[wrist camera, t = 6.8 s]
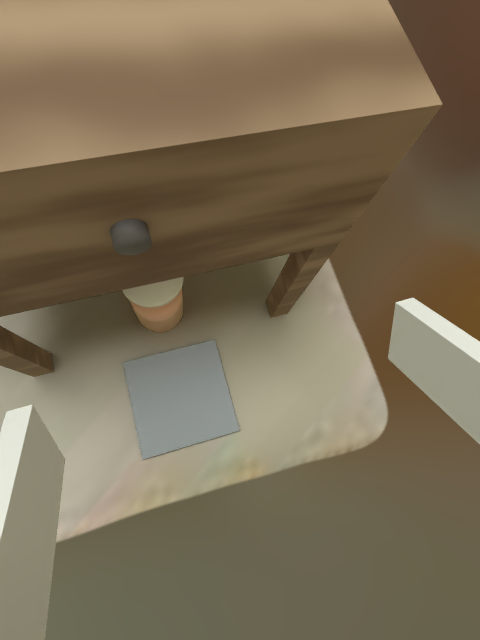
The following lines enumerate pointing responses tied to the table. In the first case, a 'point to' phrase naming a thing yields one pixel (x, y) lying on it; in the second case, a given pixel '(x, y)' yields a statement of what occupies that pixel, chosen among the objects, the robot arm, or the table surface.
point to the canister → (158, 304)
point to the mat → (179, 398)
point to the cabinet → (191, 141)
